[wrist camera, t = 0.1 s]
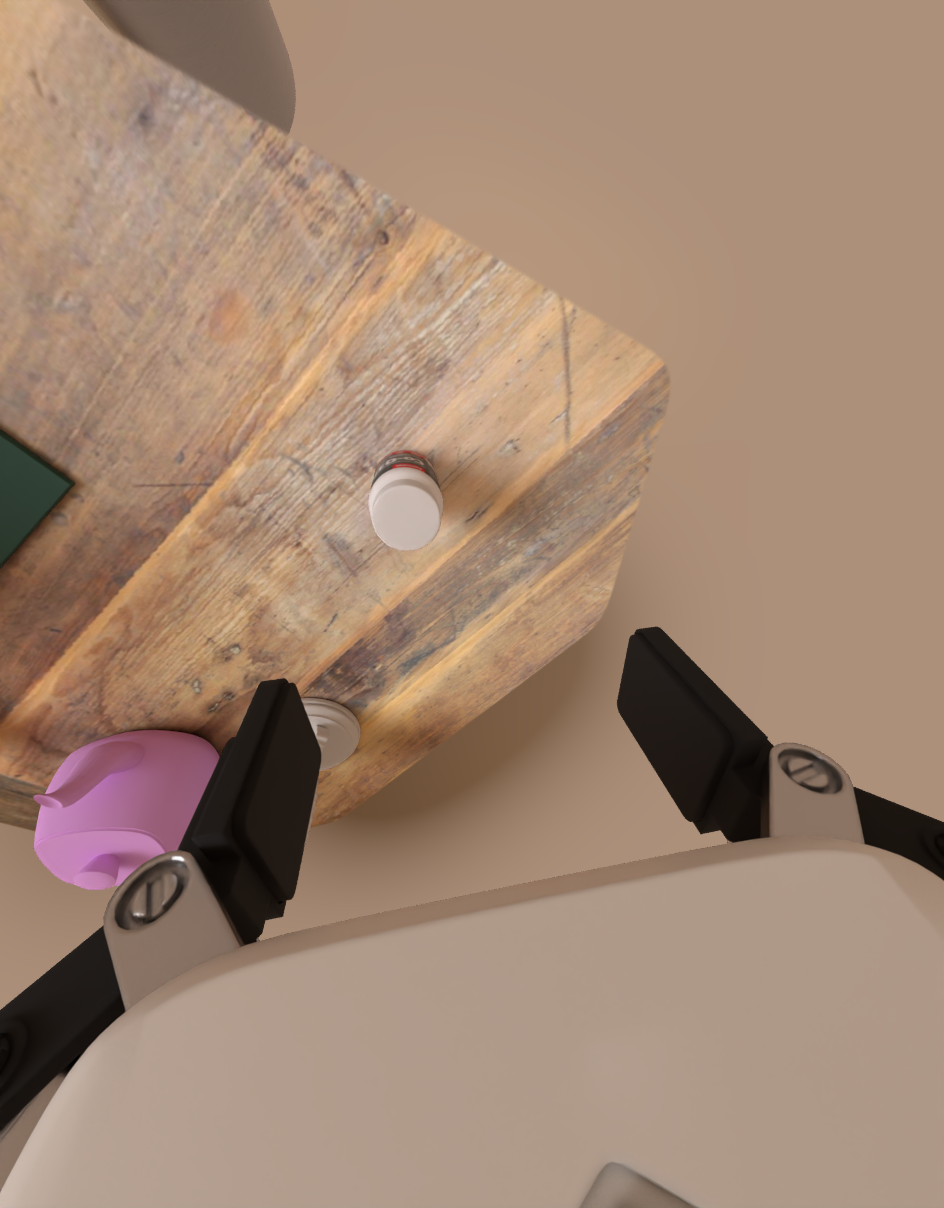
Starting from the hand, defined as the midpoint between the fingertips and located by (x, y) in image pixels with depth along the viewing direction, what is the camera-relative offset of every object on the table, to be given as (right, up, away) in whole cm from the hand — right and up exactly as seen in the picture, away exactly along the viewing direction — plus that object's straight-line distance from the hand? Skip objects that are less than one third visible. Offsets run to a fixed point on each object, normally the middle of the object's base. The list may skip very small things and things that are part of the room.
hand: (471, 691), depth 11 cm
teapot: (-32, -13, +30) cm, 46 cm away
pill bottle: (-5, +12, +19) cm, 23 cm away
